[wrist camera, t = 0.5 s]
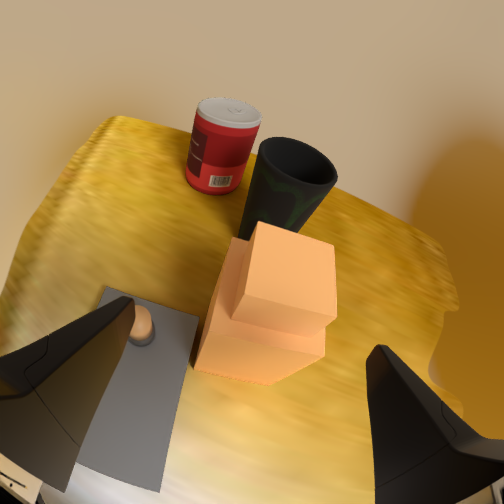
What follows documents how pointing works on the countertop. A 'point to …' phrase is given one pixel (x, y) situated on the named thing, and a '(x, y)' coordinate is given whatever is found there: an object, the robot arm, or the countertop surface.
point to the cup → (286, 185)
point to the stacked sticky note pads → (269, 307)
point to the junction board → (141, 396)
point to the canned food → (221, 144)
